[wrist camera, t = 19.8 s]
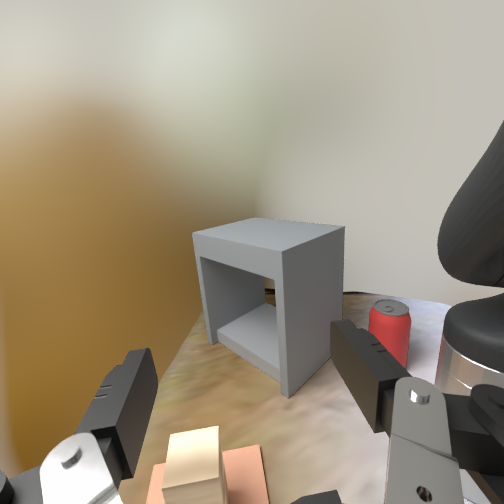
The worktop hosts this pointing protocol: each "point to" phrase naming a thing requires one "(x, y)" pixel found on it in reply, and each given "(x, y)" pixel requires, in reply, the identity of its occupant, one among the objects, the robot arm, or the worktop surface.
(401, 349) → the beer can
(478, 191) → the robot arm
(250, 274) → the box
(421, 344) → the worktop surface
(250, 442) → the worktop surface
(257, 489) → the terracotta mat
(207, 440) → the maple block
